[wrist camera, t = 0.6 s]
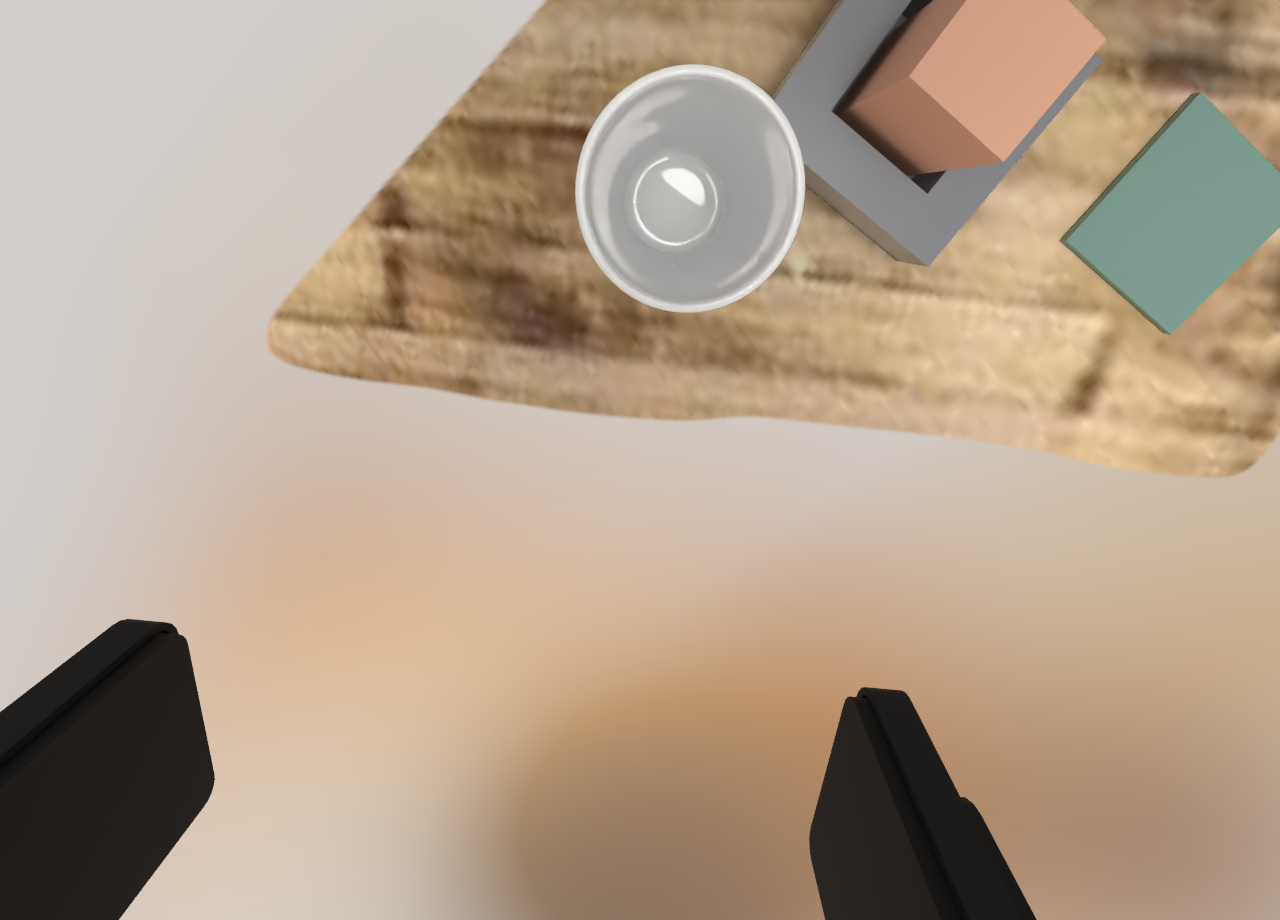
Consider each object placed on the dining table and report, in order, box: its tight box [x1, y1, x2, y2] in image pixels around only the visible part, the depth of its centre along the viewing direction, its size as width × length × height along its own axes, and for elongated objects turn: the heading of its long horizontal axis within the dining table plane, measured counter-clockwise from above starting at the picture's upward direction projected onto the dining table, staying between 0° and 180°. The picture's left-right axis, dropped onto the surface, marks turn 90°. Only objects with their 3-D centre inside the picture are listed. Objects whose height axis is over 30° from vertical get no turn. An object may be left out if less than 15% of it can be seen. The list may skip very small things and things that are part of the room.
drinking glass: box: [575, 64, 805, 313], centre depth 25 cm, size 7×7×15 cm
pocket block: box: [771, 0, 1102, 267], centre depth 29 cm, size 10×10×4 cm
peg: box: [834, 0, 1106, 176], centre depth 26 cm, size 4×4×10 cm
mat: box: [1060, 92, 1280, 335], centre depth 32 cm, size 8×8×1 cm
